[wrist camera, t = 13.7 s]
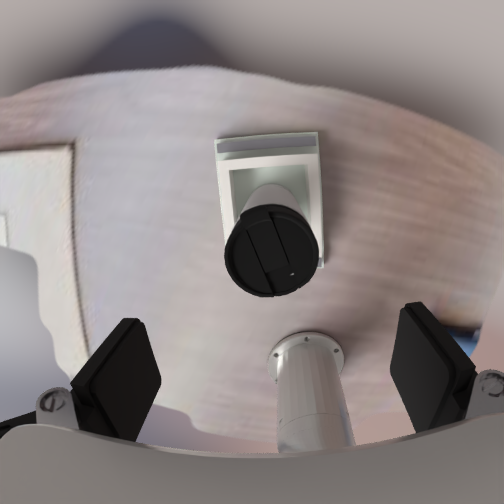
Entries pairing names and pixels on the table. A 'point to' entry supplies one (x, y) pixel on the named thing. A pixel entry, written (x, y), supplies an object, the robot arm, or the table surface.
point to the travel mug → (271, 244)
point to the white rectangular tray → (271, 175)
